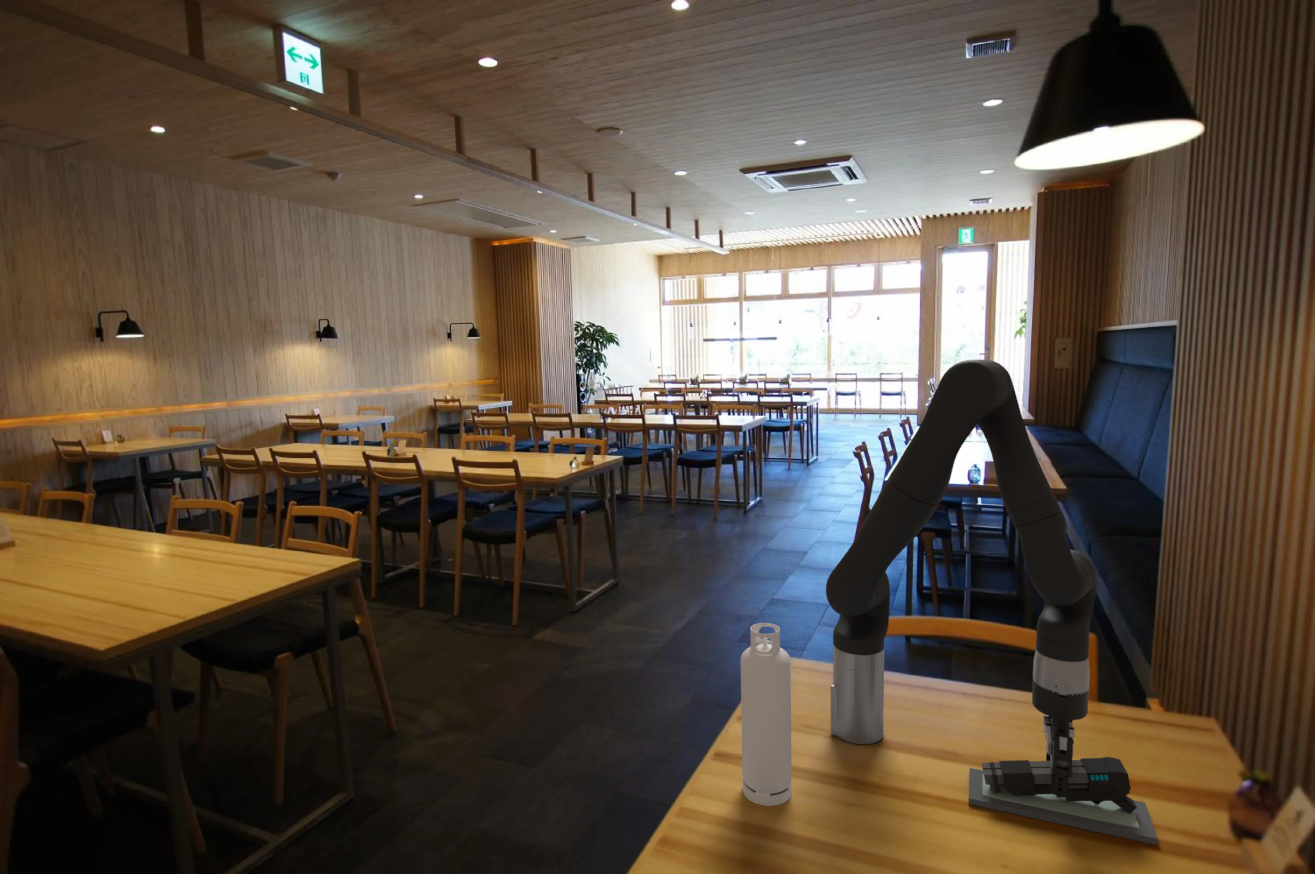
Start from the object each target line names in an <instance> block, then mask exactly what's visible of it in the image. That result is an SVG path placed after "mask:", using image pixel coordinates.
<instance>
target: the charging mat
mask: <svg viewBox="0 0 1315 874" xmlns="http://www.w3.org/2000/svg"><path fill="white" fill-rule="evenodd" d="M968 779H969V780H968V805H971V806H975V807H976V806H977V807H980V808H985V809H988V810H989V809H990V810H994V811H999V812H1003V813H1008V814H1012V815H1016V816H1022V817H1025V818H1031V819H1035V820H1040V821H1045V822H1048V823H1054V824H1058V825H1063V826H1068V827H1072V828H1077V829H1080V830H1086V831H1089V832H1096V833H1100V834H1104V835H1109V836H1114V837H1117V838H1122V839H1127V840H1132V841H1135V842H1136V841H1137V842H1140V843H1146V844H1151V845H1155V846H1158V845H1159V838H1158V837H1159V836H1157V832H1156V830H1155V827H1154V824H1153V821H1152V818H1151V815H1150V812H1149V810H1148V807H1147V804H1146V802H1145V801H1140V800H1135V799H1132V800H1133V801H1134V803H1135V805H1136V807H1137V808H1136V809H1135V810H1134V811H1133V812H1132V813H1131V814H1129V813H1127V812H1126V811H1125V810H1123V809H1122V808H1121V807H1119V806H1118V805H1116V804H1115V803H1113V802H1112V801H1103V802H1100V803H1101V804H1099V805H1095V803H1093V802H1092V801H1067V800H1066V798H1065V797H1063V798H1057V796H1056V795H1054V794H1037V795H1019V796H1016V795H1014V794H1013V793H1010V792H1006V791H1005V792H997V793H996V794H994V793H993V792H992V791H991V790H990V787H991V786H990V785H986V783H985V778H984V773H983V769H979V768H974V767H973V768H972V767H969V776H968Z"/></svg>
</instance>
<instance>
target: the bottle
mask: <svg viewBox="0 0 1315 874" xmlns="http://www.w3.org/2000/svg"><path fill="white" fill-rule="evenodd" d="M763 627H766V628H767V627H768V628H773V630H774V633H760V630H761V628H763ZM769 639H770V640H769ZM791 662H792V659H791V656H790V655H789V653H788V652H787V651H786V650H785V649H783V648H782V647H781V628H780V626H779V625H776V624H774V623H770V622H769V623H768V622H759V623H756V624H752V625H751V626H750V646H749V647H747V648H746V649H745V650H744V651H743V652H742V654H741V656H740V697H741V698H740V699H741V700H740V701H741V702H740V703H741V704H740V706H741V707H740V709H741V711H740V712H741V767H742V768H741V770H742V793H743V795H744V796H745V798H747V800H748V801H750V802H752V803H753V804H756V805H760V806H765V807H766V806H767V807H773V806H779V805H783V804H784V803H787V802H788V801H789V800H790V799H791V797H792V795H793V793H792V792H793V790H792V786H793V785H792V784H793V783H792V672H791V671H792V669H791V667H792V665H791V664H792V663H791Z"/></svg>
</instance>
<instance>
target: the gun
mask: <svg viewBox="0 0 1315 874" xmlns="http://www.w3.org/2000/svg"><path fill="white" fill-rule="evenodd" d="M1057 764H1060V765H1066V761H1061V760H1059V761H1057ZM1050 765H1051V761H1046V760H1032V761H1031V760H1030V761H1029V759H1024V760H1023V759H1020V760H1019V759H1018V760H998V761H996V762H993V761H992V762H990V761H989V762H981V767H982V768H981V769H982V770H983V773H984V778H985V783H986V785H990V786H991V787H990V790H991V791H992V792H993V793H994V794H996V793H997V792H1005V791H1006V792H1010V793H1013V794H1014V795H1016V796H1019V795H1037V794H1052V793H1051V769H1050ZM1072 772H1073V775H1072V777H1071V778H1070V777H1068V795H1067V796H1066V797H1065V798H1066V800H1067V801H1092V802H1093V803H1095V805H1099V804H1101V803H1100V802H1103V801H1112V802H1113V803H1115V804H1116V805H1118V806H1119V807H1121V808H1122V809H1123V810H1125V811H1126V812H1127V813H1129V814H1131V813H1132V812H1133V811H1134V810H1135V809H1136V808H1137V807H1136V805H1135V803H1134V801H1133V800H1134V799H1133V798H1131V797H1130V796H1128V795H1129V794H1131V793H1130V791H1131V790H1132V787H1131V783H1130V778H1129V777H1130V776H1129V773H1128V772H1127V769H1126V768H1125V767H1124V764H1123V762H1122V761H1121V759H1120V758H1117V757H1111V756H1104V757H1089V758H1087V757H1086V758H1085V757H1084V758H1080V759H1072ZM1056 796H1057V798H1063V796H1058V795H1056Z"/></svg>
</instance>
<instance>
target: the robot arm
mask: <svg viewBox="0 0 1315 874" xmlns="http://www.w3.org/2000/svg"><path fill="white" fill-rule="evenodd" d="M977 425H978V427H979V428H980V430H981V432H982V433H983V435H984V438H985V439H986V440H985V441H986V443H987V444H988V448H989V450H990V454H991V457H992V460H993V466H994V472H995V476H996V482H997V486H998V491H999V495H1000V497H1001V499H1002V502H1003V504H1004V507H1005V508H1006V511H1007V514H1008V516H1009V518H1010V520H1011V522H1012V525H1013V526H1014V528H1015V530H1016V533H1017V534H1018V537H1019V539H1020V544H1021V550H1022V555H1023V558H1024V563H1025V565H1026V570H1027V573H1028V576H1029V579H1030V581H1031V584H1032V585H1033V587H1034V589H1035V590H1036V592H1037V593H1038V594H1039V595H1040V596H1041V597H1042V598H1043V599H1044V606H1043V609H1042V612H1041V613H1040V615H1039V616H1038V619H1037V622H1036V623H1037V624H1036V632H1035V633H1036V634H1035V636H1036V637H1035V638H1036V640H1035V653H1034V657H1033V663H1032V664H1033V668H1032V692H1031V693H1032V694H1031V703H1032V705H1033V707H1034V708H1035V709H1036V710H1037V711H1038V712H1039V713H1041V714H1043V716H1042V718H1043V720H1042V722H1043V734H1044V737H1045V739H1046V748H1045V749H1046V750H1045V751H1046V752H1045V753H1046V754H1045V761H1051V765H1050V769H1051V793H1052V794H1054V795H1058V796H1063V797H1066V796H1067V795H1068V777H1070V778H1071V777H1072V775H1073V772H1072V760H1073V757H1074V743H1075V740H1074V738H1075V736H1076V735H1075V733H1076V731H1075V727H1074V726H1073V722H1074V721H1079V720H1082V719H1084V718H1086V717H1087V715H1088V712H1089V698H1090V697H1089V694H1090V693H1089V691H1090V675H1091V674H1090V663H1089V653H1090V652H1089V651H1090V624H1091V619H1092V618H1091V617H1092V615H1093V614H1092V613H1093V608H1094V606H1095V601H1096V595H1097V594H1096V593H1097V588H1098V586H1097V585H1098V573H1097V570H1096V567H1095V565H1094V563H1093V561H1092V560H1091V559H1090V558H1089V557H1088V556H1087V555H1086V554H1084V553H1082V552H1081V551H1078V550H1074V549H1070V547H1069V544H1068V541H1067V540H1068V539H1067V537H1066V532H1067V529H1068V524H1067V519H1066V517H1065V515H1064V513H1063V511H1062V508H1061V506H1060V503H1059V502H1058V500H1057V499H1058V498H1056V495H1055V493H1054V492H1053V489H1052V487H1051V485H1050V483H1049V481H1048V479H1047V477H1046V475H1045V473H1044V470H1043V468H1042V466H1041V464H1040V461H1039V459H1038V457H1037V455H1036V453H1035V449H1034V446H1033V444H1032V442H1031V438H1030V436H1029V434H1028V431H1027V428H1026V425H1025V421H1024V418H1023V416H1022V412H1021V408H1020V404H1019V401H1018V397H1017V394H1016V390H1015V387H1014V383H1013V380H1012V377H1011V375H1010V373H1009V371H1008V370H1007V368H1005V367H1004V366H1003V365H1002V364H1001V363H999V362H997V361H993V360H990V359H967V360H962V361H959V362H956V363H955V364H953V365H952V366H950V367H949V368H948V369H947V370H946V371H945V372H944V374H943V375H942V377H941V378H940V380H939V383H938V385H937V387H936V389H935V392H934V394H933V396H932V398H931V401H930V403H929V405H928V408H927V409H926V412H925V414H924V416H923V419H922V421H921V423H920V425H919V427H918V429H917V431H916V433H915V434H914V436H913V437H912V439H911V440H910V441H909V443H908V445H907V447H906V448H905V450H904V451H903V453H902V455H901V456H900V458H899V459H898V462H897V464H896V465H895V466H894V468H893V469H892V472H891V473H890V474H889V476H888V478H887V480H886V481H885V483H884V485H883V487H882V488H881V490H880V492H879V493H878V496H877V498H876V501H875V502H874V503H873V506H872V508H870V510H869V513H868V514H867V516H866V519H865V521H863V524H862V526H861V528H860V530H859V532H858V533H857V535H856V537H855V540H854V541H853V543H852V544H851V546H850V547H849V548H848V550H847V551H846V552H845V553H844V555H843V557H842V558H841V559H840V561H839V562H838V563H837V565H836V566H835V567H834V568H833V570H832V571H831V572H830V574H829V576H828V578H827V580H826V585H825V594H826V600H827V602H828V604H829V607H831V609H833V611H834V612H835V613H837V614H839V615H840V617H839V619H838V621H837V623H836V625H835V626H834V628H833V633H832V644H833V645H832V651H833V652H832V654H833V655H832V658H833V659H832V662H833V663H832V669H833V670H832V674H833V675H832V683H831V686H830V735H832V736H834V737H835V736H836V737H838V738H839V739H841V740H842V741H845V742H848V743H851V744H855V745H871V744H874V743H878V742H879V741H881V740H882V739H883V737H884V729H885V728H884V727H885V723H884V717H885V715H884V713H885V712H884V710H885V709H884V708H885V707H884V706H885V705H884V704H885V703H884V702H885V701H884V700H885V699H884V697H885V639H886V637H887V634H888V630H889V623H890V622H889V621H890V608H891V607H890V605H891V603H890V602H891V587H890V585H891V584H890V580H889V577H888V574H887V571H888V569H889V567H890V565H891V564H892V562H893V561H894V560H895V559H896V558H897V557H898V556H899V555H900V554H901V552H903V550H905V548H907V546H908V545H909V544H910V543H911V542H913V540H914V539H915V538H916V537H917V536H918V535H919V533H920V532H921V531H922V530H923V528H925V527H926V525H927V523H928V522H929V521H930V519H931V518H932V516H933V514H934V513H935V511H936V510H937V509H938V506H939V505H940V503H941V502H942V500H943V498H944V496H945V494H946V492H947V490H948V487H949V485H950V481H951V477H952V473H953V469H954V466H955V462H956V458H957V456H958V453H959V451H960V450H961V448H962V446H963V444H964V443H965V441H966V440H967V439H968V437H969V435H970V434H971V433H972V432H973V430H974V429H975V428H976V426H977ZM1059 760H1061V761H1066V765H1060V764H1057V761H1059Z"/></svg>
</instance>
